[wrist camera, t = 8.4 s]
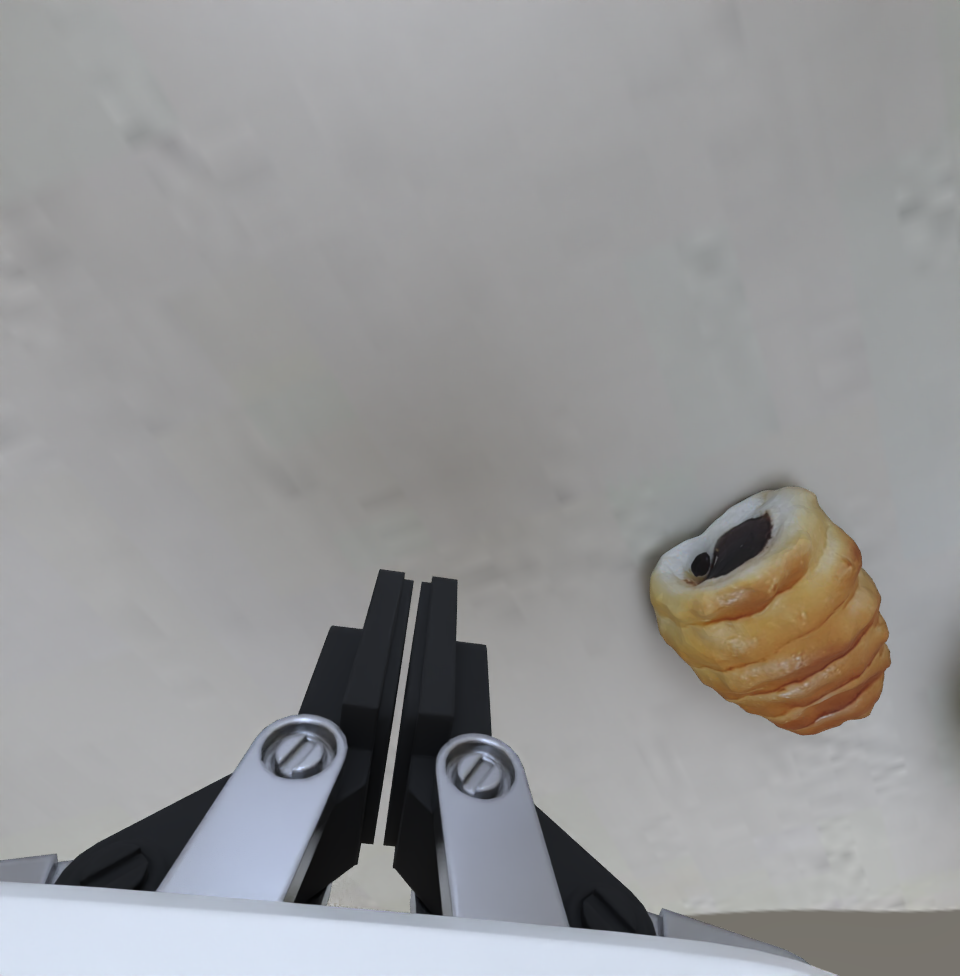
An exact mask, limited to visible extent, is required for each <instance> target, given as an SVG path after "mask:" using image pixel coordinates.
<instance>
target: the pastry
mask: <svg viewBox="0 0 960 976" xmlns="http://www.w3.org/2000/svg"><path fill="white" fill-rule="evenodd" d="M861 567H862V556H861V552H860V550H859V548H858V546H857V545H856V543H855V542H854V540H853V539H852V538H851V537H849V536H848V535H847V534H846V533H845V532H844V531H843V530H842V529H841V528H839V527H838V526H837V525H835V524H834V523H833V522H832V521H831V520H830V519H829V518H828V516H827V515H826V514H825V513H824V511H823V510H822V509H821V508H820V506H819V504H818V501H817V497H816V495H815V494H814V493H813V492H811V491H809V490H807V489H804V488H800V487H791V486H790V487H783V488H780V489H778V490H764V491H762V492H759V493H757V494H754V495H752V496H750V497H748V498H747V499H745V500H743V501H742V502H740V503H738V504H736V505H734V506H732V507H731V508H729V509H728V510H727V511H726V512H725V514H723V515H722V516H721V517H719V518H718V519H717V520H715V521H714V522H713V523H712V524H711V525H710V526H709V527H708V528H707V529H706V531H705V532H704V533H703V534H702V535H700V536H698V537H695V538H692V539H688V540H686V541H684V542H682V543H680V544H679V545H677V546H675V547H674V548H672V549H671V550H670V551H668V552H666V553H665V554H663V555H662V557H661V558H660V559H659V561H658V563H657V565H656V566H655V568H654V570H653V572H652V574H651V578H650V600H651V603H652V605H653V608H654V611H655V614H656V618H657V623H658V628H659V632H660V634H661V636H662V637H663V639H664V640H665V642H666V643H667V644H668V645H669V646H671V647H672V648H673V649H674V650H675V651H676V652H677V654H678V655H679V656H680V657H681V658H682V659H683V660H684V661H685V662H686V663H687V664H688V665H689V666H690V667H691V668H692V669H693V671H694V672H695V673H696V675H697V676H698V678H699V679H700V680H701V681H702V683H703V684H705V685H707V686H709V687H711V688H713V689H714V690H715V691H716V692H718V693H719V694H720V695H721V696H722V697H723V698H724V699H725V700H727V701H729V702H733V703H735V704H737V705H739V706H740V707H741V708H742V709H744V710H745V711H746V712H748V713H750V714H757V715H760V716H762V717H764V718H766V719H768V720H769V721H771V722H772V723H774V724H775V725H776V726H778V727H780V728H783V729H785V730H788V731H791V732H794V733H796V734H799V735H814V734H817V733H820V732H822V731H825V730H828V729H831V728H834V727H837V726H840V725H841V724H842V723H843V722H845V721H847V720H855V719H862V718H865V717H867V716H869V715H870V713H871V711H872V709H873V707H874V704H875V703H876V702H877V701H878V700H879V697H880V695H881V692H882V688H883V681H884V671H885V670H886V668H888V667H890V664H891V660H890V651H889V649H888V647H887V645H886V644H885V642H886V641H887V639H888V637H889V631H888V628H887V625H886V622H885V620H884V619H883V617H882V615H881V614H880V612H879V607H880V603H881V596H880V594H879V592H878V590H877V588H876V586H875V583H874V582H873V580H872V578H871V577H870V576H869V575H868V574H867V572H866V571H865V570H864V569H863V568H861Z"/></svg>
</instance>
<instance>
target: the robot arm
mask: <svg viewBox="0 0 960 976" xmlns="http://www.w3.org/2000/svg"><path fill="white" fill-rule="evenodd" d="M404 577H405V573H404V572H397V571H389V570H382V569H380V570H379V573H378V577H377V580H376V584H375V587H374V591H373V595H372V598H371V602H370V605H369V609H368V613H367V616H366V620H365V623H364V627H363V629H356V628H348V627H340V626H331V628H330V630H329V632H328V635H327V638H326V640H325V643H324V646H323V648H322V651H321V654H320V656H319V659H318V662H317V665H316V667H315V670H314V673H313V675H312V678H311V681H310V684H309V686H308V689H307V692H306V694H305V697H304V700H303V702H302V705H301V708H300V711H299V713H298V715H291V716H288V717H285V718H282V719H279V720H276V721H275V722H273V723H272V724H270V725H269V726H267V727H265V728H264V729H263V730H262V732H261V733H260V734H259V735H258V736H257V737H256V738H255V740H254V741H253V743H252V744H251V746H250V747H249V749H248V751H247V752H246V754H245V755H244V757H243V758H242V760H241V761H240V763H239V764H238V766H237V767H236V769H235V770H234V772H233V773H231V774H230V775H228V776H226V777H224V778H222V779H220V780H218V781H216V782H214V783H212V784H210V785H208V786H206V787H204V788H202V789H201V790H199V791H197V792H195V793H193V794H191V795H189V796H187V797H185V798H183V799H181V800H179V801H177V802H175V803H174V804H172V805H170V806H168V807H166V808H164V809H162V810H160V811H158V812H156V813H154V814H152V815H150V816H148V817H147V818H145V819H143V820H141V821H139V822H137V823H135V824H133V825H131V826H129V827H127V828H125V829H123V830H121V831H120V832H118V833H116V834H114V835H112V836H110V837H108V838H106V839H104V840H102V841H100V842H98V843H97V844H95V845H94V846H92V847H91V848H89V849H87V850H86V851H84V852H83V853H81V854H80V855H79V856H78V857H76V858H75V859H74V860H71V861H63V862H58V859H57V854H50V855H41V856H33V857H24V858H16V859H8V860H0V976H838V975H836V974H833V973H830V972H828V971H825V970H822V969H819V968H817V967H814V966H811V965H810V964H809V963H808V962H806V961H805V960H804V959H803V958H801V957H799V956H797V955H795V954H793V953H791V952H789V951H787V950H785V949H783V948H780V947H777V946H774V945H771V944H768V943H765V942H762V941H759V940H756V939H753V938H750V937H747V936H744V935H741V934H738V933H735V932H732V931H729V930H726V929H723V928H720V927H717V926H714V925H711V924H708V923H705V922H702V921H699V920H696V919H693V918H690V917H687V916H684V915H681V914H678V913H675V912H672V911H669V910H666V909H663V908H662V910H661V912H660V914H659V915H656V914H653V913H650V912H647V911H646V909H645V907H644V906H643V904H642V903H641V902H640V901H639V900H638V899H637V898H636V897H635V895H634V894H633V893H632V892H631V891H630V890H629V889H628V888H626V887H625V886H624V885H623V884H622V883H621V882H620V881H619V880H618V879H617V878H615V877H614V876H613V875H612V874H611V873H610V872H609V871H608V870H607V869H605V868H604V867H603V866H602V865H601V864H600V863H599V862H598V861H597V860H596V859H594V858H593V857H592V856H591V855H590V854H589V853H588V852H587V851H586V850H584V849H583V848H582V847H581V846H580V845H579V844H578V843H577V842H576V841H574V840H573V839H572V838H571V837H570V836H569V835H568V834H567V833H566V832H565V831H563V830H562V829H561V828H560V827H559V826H558V825H557V824H556V823H555V822H553V821H552V820H551V819H550V818H549V817H548V816H547V815H546V814H545V813H543V812H542V811H541V810H540V809H539V808H538V807H537V806H536V805H535V804H534V802H533V798H532V795H531V791H530V788H529V784H528V781H527V778H526V774H525V771H524V767H523V765H522V763H521V761H520V759H519V757H518V755H517V754H516V753H515V752H514V751H513V750H512V749H511V747H510V746H508V745H507V744H505V743H504V742H502V741H501V740H499V739H497V738H494V737H492V733H491V715H490V697H489V679H488V661H487V648H486V645H482V644H474V643H466V642H458V641H456V624H457V583H458V582H457V580H455V579H448V578H441V577H432V582H431V583H428V582H422V584H421V590H420V597H419V603H418V610H417V616H416V623H415V629H414V636H413V642H412V649H411V655H410V662H409V668H408V675H407V681H406V688H405V695H404V702H403V709H402V716H401V723H400V730H399V737H398V744H397V752H396V759H395V766H394V773H393V780H392V787H391V794H390V801H389V809H388V816H387V823H386V830H385V837H384V844H383V845H386V846H395V853H394V862H393V868H395V869H396V870H397V872H398V873H399V874H400V875H401V877H402V878H403V879H404V880H405V881H406V883H407V884H408V885H409V886H410V888H411V889H412V890H411V899H410V913H405V912H393V911H382V910H370V909H358V908H347V907H335V906H327V903H328V900H329V897H330V892H331V887H332V882H333V881H334V880H336V879H337V878H338V877H340V876H341V875H342V874H344V873H345V872H346V871H348V870H349V869H350V868H352V867H353V866H354V865H357V864H358V858H359V852H360V847H361V843H365V844H373V843H374V836H375V830H376V824H377V817H378V811H379V805H380V799H381V792H382V786H383V780H384V773H385V767H386V761H387V754H388V748H389V742H390V735H391V729H392V723H393V716H394V710H395V704H396V697H397V691H398V684H399V677H400V671H401V664H402V657H403V650H404V644H405V637H406V630H407V623H408V617H409V610H410V603H411V596H412V589H413V583H414V581H413V580H405V579H404Z"/></svg>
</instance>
